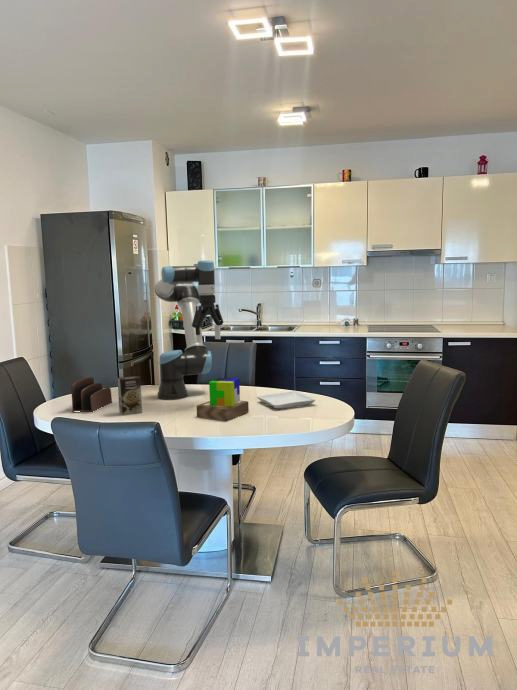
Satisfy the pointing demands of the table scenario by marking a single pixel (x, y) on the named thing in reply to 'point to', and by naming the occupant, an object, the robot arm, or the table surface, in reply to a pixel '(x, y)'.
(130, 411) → the coffee box
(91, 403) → the letter holder
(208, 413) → the plinth
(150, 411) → the table surface
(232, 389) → the puzzle toy
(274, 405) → the salad plate
